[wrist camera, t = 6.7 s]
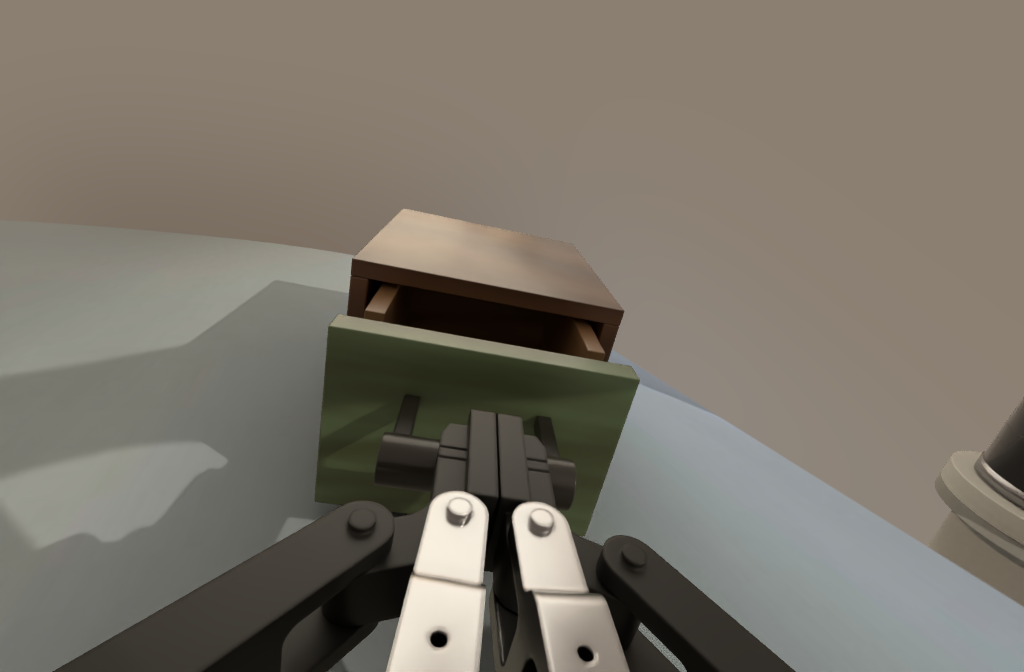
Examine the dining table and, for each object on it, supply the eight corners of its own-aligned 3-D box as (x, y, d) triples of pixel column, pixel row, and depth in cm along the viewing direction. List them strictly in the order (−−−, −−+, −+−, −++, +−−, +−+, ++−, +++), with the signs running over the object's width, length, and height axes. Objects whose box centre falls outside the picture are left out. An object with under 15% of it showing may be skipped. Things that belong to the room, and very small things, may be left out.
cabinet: (572, 474, 27) (624, 310, 23) (334, 439, 25) (352, 258, 21) (543, 358, 40) (573, 243, 37) (387, 331, 38) (403, 208, 35)
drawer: (607, 630, 17) (683, 449, 14) (271, 596, 16) (280, 385, 13) (547, 386, 34) (577, 278, 31) (379, 357, 32) (394, 241, 29)
